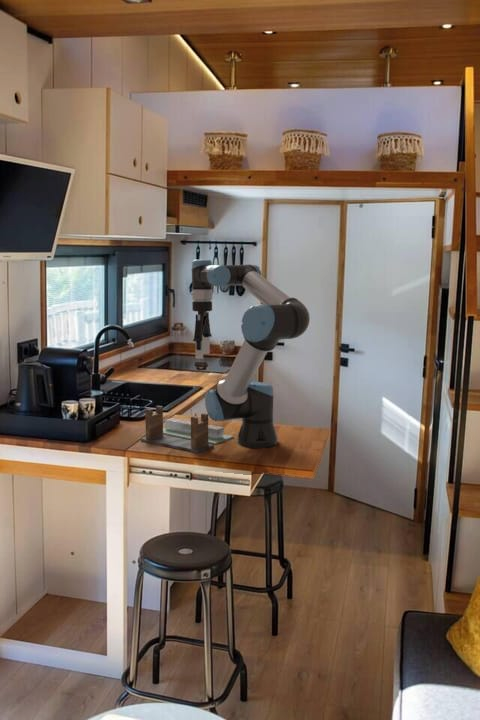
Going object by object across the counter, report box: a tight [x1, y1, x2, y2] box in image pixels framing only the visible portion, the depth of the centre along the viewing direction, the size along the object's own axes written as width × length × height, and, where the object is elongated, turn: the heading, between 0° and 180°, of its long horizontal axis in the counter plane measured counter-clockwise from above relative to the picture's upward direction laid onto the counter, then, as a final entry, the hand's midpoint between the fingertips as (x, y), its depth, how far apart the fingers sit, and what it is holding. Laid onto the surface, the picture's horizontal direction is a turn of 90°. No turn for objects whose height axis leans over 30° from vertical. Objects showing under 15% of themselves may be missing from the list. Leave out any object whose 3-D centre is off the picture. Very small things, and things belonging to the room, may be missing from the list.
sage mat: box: [163, 427, 235, 445], centre depth 272 cm, size 30×12×1 cm, turn 55°
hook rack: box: [140, 405, 215, 454], centre depth 258 cm, size 28×9×12 cm, turn 55°
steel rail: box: [164, 417, 224, 440], centre depth 272 cm, size 26×4×4 cm, turn 55°
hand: (202, 356), depth 267 cm, fingers open, 13 cm apart
